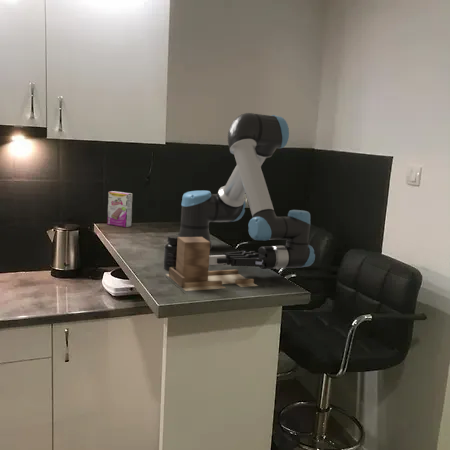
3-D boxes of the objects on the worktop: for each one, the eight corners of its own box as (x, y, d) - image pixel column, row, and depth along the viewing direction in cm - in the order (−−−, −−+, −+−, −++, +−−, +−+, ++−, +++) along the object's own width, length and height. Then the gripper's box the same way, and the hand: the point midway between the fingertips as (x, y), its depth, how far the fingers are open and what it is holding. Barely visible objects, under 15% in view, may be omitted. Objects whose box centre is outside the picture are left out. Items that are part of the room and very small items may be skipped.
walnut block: (199, 276, 160) (202, 236, 158) (207, 283, 153) (210, 242, 151) (175, 277, 157) (177, 236, 155) (182, 284, 150) (184, 242, 148)
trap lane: (232, 273, 170) (233, 262, 170) (257, 288, 154) (258, 276, 154) (165, 277, 160) (166, 265, 160) (185, 294, 144) (186, 280, 144)
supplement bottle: (163, 268, 171) (165, 233, 169) (183, 269, 172) (185, 235, 170) (162, 273, 164) (164, 237, 162) (183, 274, 165) (185, 239, 163)
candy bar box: (106, 224, 243) (107, 191, 241) (112, 223, 248) (113, 190, 245) (126, 227, 239) (127, 193, 237) (131, 226, 244) (133, 193, 241)
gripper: (280, 273, 160) (213, 277, 150) (261, 263, 172) (197, 266, 161) (282, 250, 159) (215, 253, 149) (262, 242, 170) (199, 244, 160)
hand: (206, 260), depth 155 cm, fingers closed
